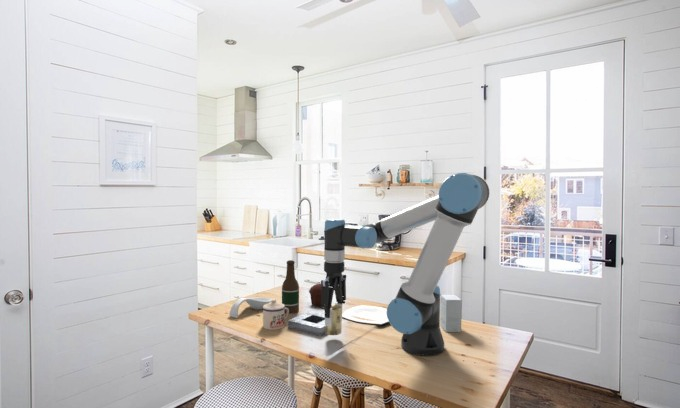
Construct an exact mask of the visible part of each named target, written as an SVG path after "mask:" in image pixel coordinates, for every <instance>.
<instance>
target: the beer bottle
mask: <svg viewBox="0 0 680 408" xmlns="http://www.w3.org/2000/svg"><path fill="white" fill-rule="evenodd" d="M295 263H296V262H295V260H289V259H288V260H287V261H286V273H285V275H286V276H285V278H284V281H283V282H282V285H281V303H282V304H284V305H285V307H286V308H288V309H289V314H288V315H290V314H296V313H298V312H299V310H300V286H299V282H298V280H297V278H296V275H295V274H296V273H295ZM285 315H286V309H285Z"/></svg>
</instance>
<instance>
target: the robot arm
mask: <svg viewBox="0 0 680 408" xmlns="http://www.w3.org/2000/svg"><path fill="white" fill-rule="evenodd" d="M489 197H490V188H489V185H488V183H487V182H486V181H485V179H483V178H482V177H481V176H479V175H476V174H470V173H467V172H458V173H455V174H451V175H450V176H448V177H447V178H445V179H444V180H443V182H441V185H440V186H439V189H438V195H436V196H434V197H431V198H429V199H427V200H424V201H421V202H420V203H418V204H415V205H413V206H411V207H408V208H406V209H403V210H402V211H399V212H396V213H394V214H391V215H390V216H387V217H384V218H382V219H380V220H378V221H375V222H372V223H370V224H364V225H348V224H346V220H345V219H343V218H327V219H326V220H325V221H324V229H323V234H324V238H323V239H324V248H323V249H324V252H323V253H324V254H323V258H324V259H323V260H324V262H323V272H324V273H326V275H325V279H323V280H322V279H321V281H320V284H321V286H322V289H321V308H322V309H324V314H325V326H329V327H332V308H331V305H333V304H332V303H333V298H334V295H335V301H336V302H335V303H334V305H337V306H340V307H342V308H343V304H344V305H345V303H346V300H347V287H346V285H347V284H346V283H347V282H346V281H347V275H346V274H343V273H344V272H345V255H346V254H345V253H346V252H345V249H346V248H345V247H352V248H358V249H359V248H361V249H372V248H374V247H375V245H376V244H380V243H382V242H385V241H386V240H388V239H390V238H393V237H396V236H399V235H401V234H403V233H406V232H409V231H411V230H413V229H416V228H418V227H421V226H424V225H426V224H429V223H431V222H433V225H432V227H431V229H430V232H429V234H428V236H427V238H426V241H425V242H424V245H423V247H422V248H421V249H422V250H421V252H420V254H419V256H418V258H417V260H416V263H415V265H414V268H413V270H412V272H411V274H410V276H409V278H408V281H405V282H403V283H401V285H400V287H399V289H398V292H397V294H396V296H395V298H394V299H391V301H389V303H388V305H387V308H386V309H387V318H388V320H389V322H388V323H389V325H390V326H391V327H392V328H393V329H394V330H395V331H397V332H398V333H400V334H402V337H401V339H400V345H401V348H402V349H403V350H404V351H406V352H407V353H409V354H412V355H418V356H425V357H426V356H430V357H431V356H437V355H439V354H442V353H444V351H445V340H444V337H443V334H442V330H441V326H440V308H441V295H442V294H441V289H440V286H439V285H438V283H439V281H440V280H441V278H442V275H443V273H444V271H445V269H446V267H447V264H448V263H449V260H450V259H451V256H452V253H453V251H454V249H455V247H456V245H457V243H458V240H459V238H460V236H461V234H462V233H463V230H464V229H465V227H467V226H470V225H472V223H473V221H474V219H475V217H476V215H477V213H478V211H479V209H481V208H482V207H484V206H485V205H486V204H487V202H488V201H489Z"/></svg>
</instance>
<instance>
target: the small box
mask: <svg viewBox="0 0 680 408" xmlns="http://www.w3.org/2000/svg"><path fill="white" fill-rule="evenodd" d="M462 301H463V300H462V299H461V298H460V297H459V296H457V295H456V294H441V296H440V328H442V329H443V330H444V332H445V333H462V315H463V314H462V308H463V307H462Z"/></svg>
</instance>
